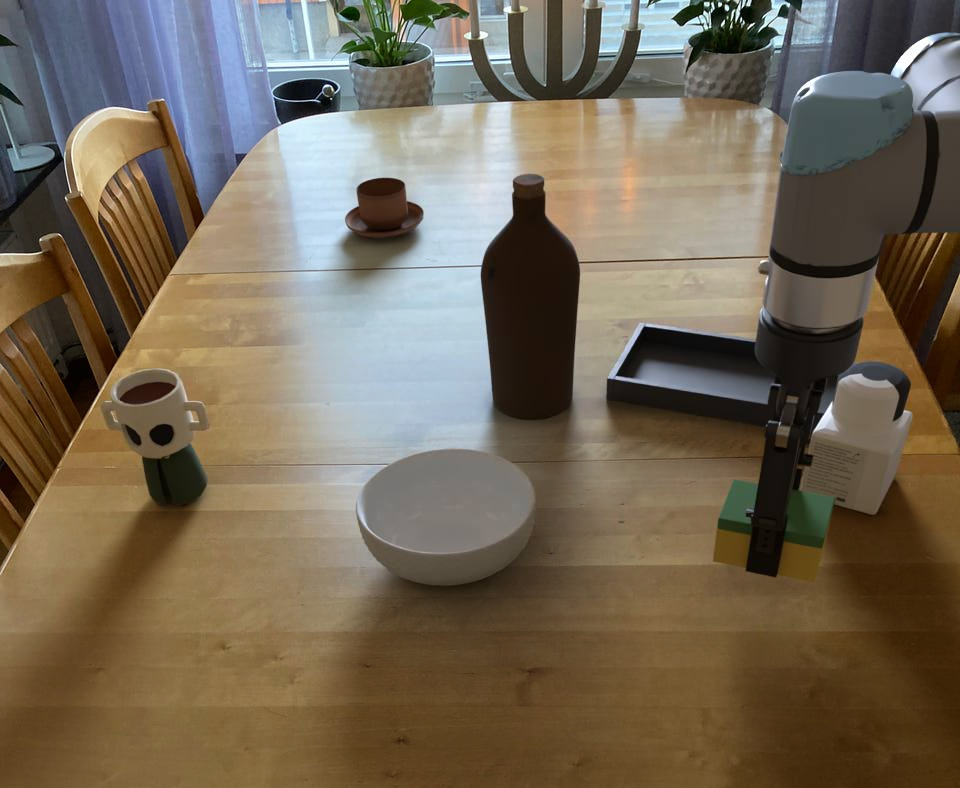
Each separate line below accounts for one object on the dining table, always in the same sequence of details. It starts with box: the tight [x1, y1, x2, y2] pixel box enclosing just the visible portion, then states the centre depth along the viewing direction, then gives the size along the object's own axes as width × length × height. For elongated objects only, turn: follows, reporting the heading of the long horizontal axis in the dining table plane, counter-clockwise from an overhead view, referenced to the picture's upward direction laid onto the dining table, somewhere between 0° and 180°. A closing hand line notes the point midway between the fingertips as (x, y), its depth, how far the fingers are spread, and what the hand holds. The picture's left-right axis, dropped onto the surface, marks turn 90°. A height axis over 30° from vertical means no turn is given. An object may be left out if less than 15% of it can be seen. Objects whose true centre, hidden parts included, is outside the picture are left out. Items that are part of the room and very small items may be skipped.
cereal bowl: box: [355, 448, 537, 587], centre depth 96 cm, size 17×17×7 cm
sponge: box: [712, 478, 835, 583], centre depth 89 cm, size 9×6×5 cm, turn 68°
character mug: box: [99, 367, 211, 506], centre depth 104 cm, size 11×7×13 cm, turn 85°
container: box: [799, 360, 914, 516], centre depth 98 cm, size 8×8×13 cm
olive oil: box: [480, 173, 581, 420], centre depth 109 cm, size 11×11×25 cm
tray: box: [605, 321, 838, 435], centre depth 116 cm, size 26×14×3 cm, turn 68°
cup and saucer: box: [344, 177, 425, 239], centre depth 151 cm, size 12×12×6 cm
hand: (769, 548), depth 91 cm, fingers closed on sponge, 6 cm apart
